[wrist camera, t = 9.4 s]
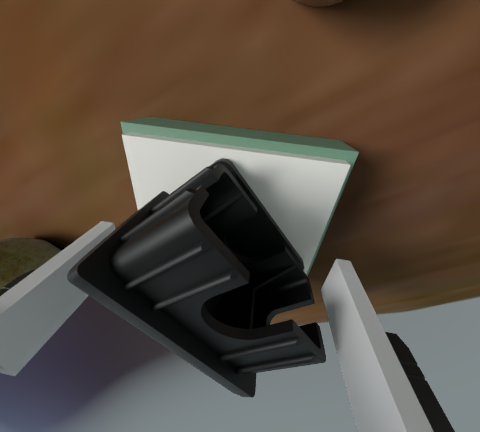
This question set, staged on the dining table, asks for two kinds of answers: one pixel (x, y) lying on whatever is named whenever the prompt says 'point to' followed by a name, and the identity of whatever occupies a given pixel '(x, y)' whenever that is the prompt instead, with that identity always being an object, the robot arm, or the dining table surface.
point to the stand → (246, 170)
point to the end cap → (207, 280)
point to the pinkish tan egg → (318, 2)
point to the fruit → (23, 257)
